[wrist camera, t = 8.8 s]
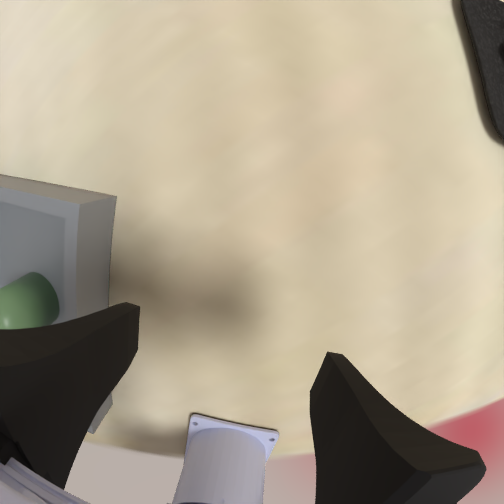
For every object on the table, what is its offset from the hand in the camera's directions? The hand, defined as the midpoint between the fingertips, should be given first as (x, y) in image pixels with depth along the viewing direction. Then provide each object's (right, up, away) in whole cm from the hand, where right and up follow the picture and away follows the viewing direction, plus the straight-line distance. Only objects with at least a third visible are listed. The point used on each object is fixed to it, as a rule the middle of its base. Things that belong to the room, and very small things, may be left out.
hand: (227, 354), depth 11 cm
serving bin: (-18, 0, +11) cm, 21 cm away
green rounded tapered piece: (-17, 0, +10) cm, 20 cm away
